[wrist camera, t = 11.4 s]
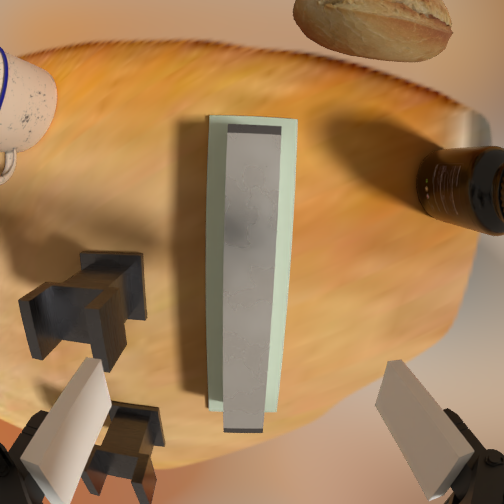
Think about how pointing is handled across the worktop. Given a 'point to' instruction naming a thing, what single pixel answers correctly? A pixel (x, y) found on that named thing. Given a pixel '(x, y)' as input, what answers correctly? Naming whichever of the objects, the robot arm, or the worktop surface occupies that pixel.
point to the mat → (216, 251)
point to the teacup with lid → (23, 107)
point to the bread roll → (377, 27)
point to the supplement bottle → (465, 187)
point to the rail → (249, 271)
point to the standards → (101, 356)
